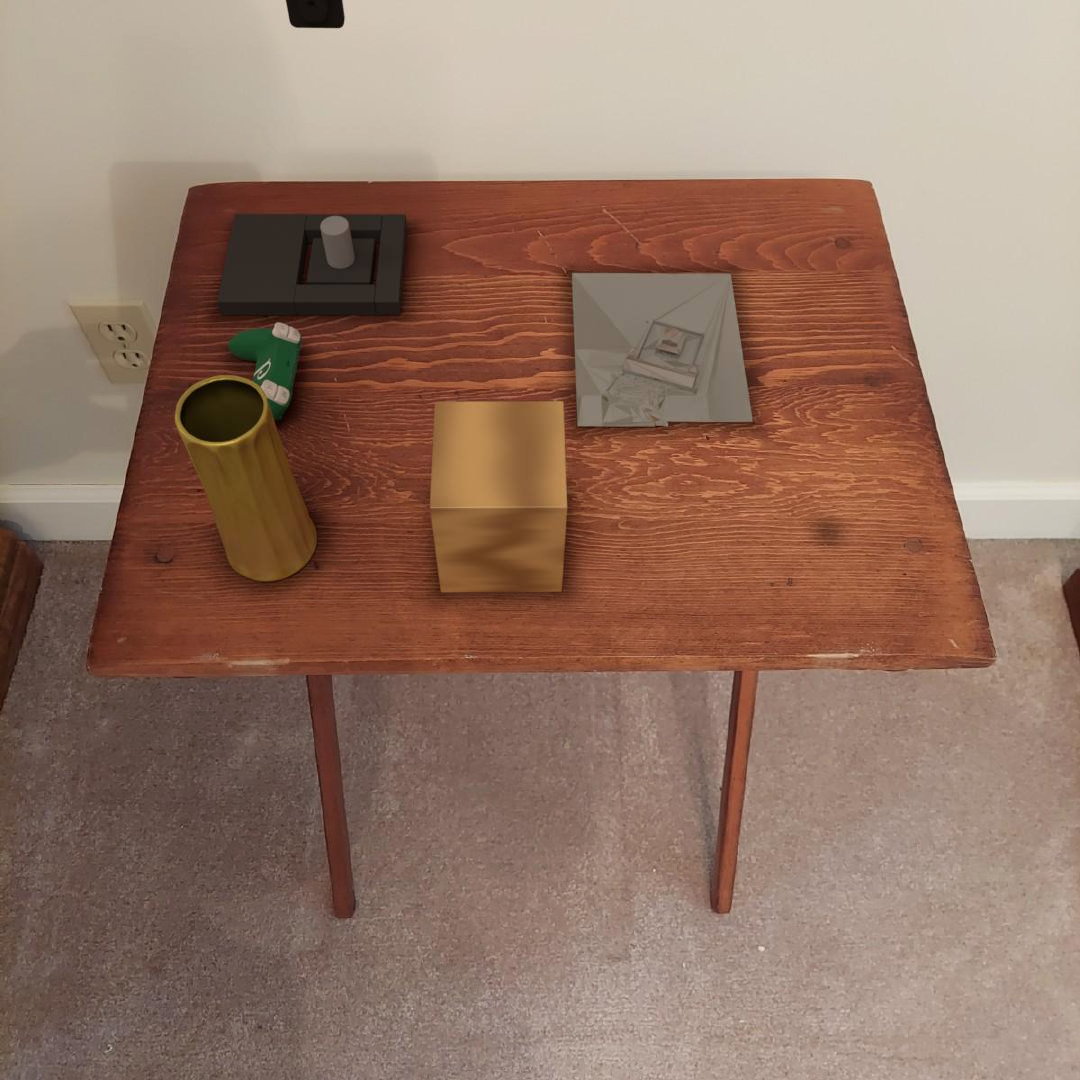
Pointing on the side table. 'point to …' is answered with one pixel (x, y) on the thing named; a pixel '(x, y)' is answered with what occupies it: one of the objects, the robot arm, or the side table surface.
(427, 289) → the side table surface
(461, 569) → the stand
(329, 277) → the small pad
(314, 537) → the vase
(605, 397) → the grey flat square slab
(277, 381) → the gaming controller
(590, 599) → the side table surface
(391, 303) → the base pad
